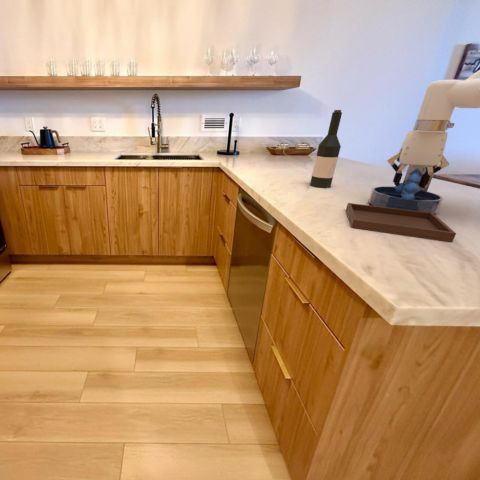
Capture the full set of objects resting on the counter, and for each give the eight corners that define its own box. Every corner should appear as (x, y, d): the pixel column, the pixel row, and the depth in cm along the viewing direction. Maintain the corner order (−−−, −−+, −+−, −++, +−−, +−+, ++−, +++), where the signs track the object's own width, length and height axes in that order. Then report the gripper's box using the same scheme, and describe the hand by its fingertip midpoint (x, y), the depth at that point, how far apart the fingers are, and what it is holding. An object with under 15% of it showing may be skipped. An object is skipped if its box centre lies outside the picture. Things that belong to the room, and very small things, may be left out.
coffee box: (418, 204, 100) (436, 156, 93) (395, 200, 105) (412, 154, 98) (424, 199, 105) (442, 154, 98) (403, 195, 110) (419, 152, 103)
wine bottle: (306, 185, 124) (322, 109, 112) (313, 182, 130) (329, 109, 117) (327, 189, 119) (346, 110, 106) (333, 185, 124) (353, 110, 112)
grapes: (390, 200, 102) (401, 166, 98) (414, 203, 98) (427, 168, 94) (387, 208, 94) (398, 171, 89) (413, 211, 90) (427, 173, 85)
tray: (429, 220, 86) (432, 212, 85) (452, 242, 71) (456, 233, 70) (345, 209, 94) (347, 202, 93) (351, 227, 80) (353, 219, 79)
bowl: (426, 203, 100) (431, 189, 98) (445, 220, 86) (452, 204, 83) (364, 197, 108) (368, 184, 106) (372, 211, 93) (377, 196, 91)
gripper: (462, 126, 86) (438, 186, 93) (392, 125, 93) (374, 180, 100) (473, 128, 80) (446, 191, 87) (397, 126, 86) (378, 185, 94)
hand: (408, 185), depth 93 cm, fingers open, 5 cm apart
